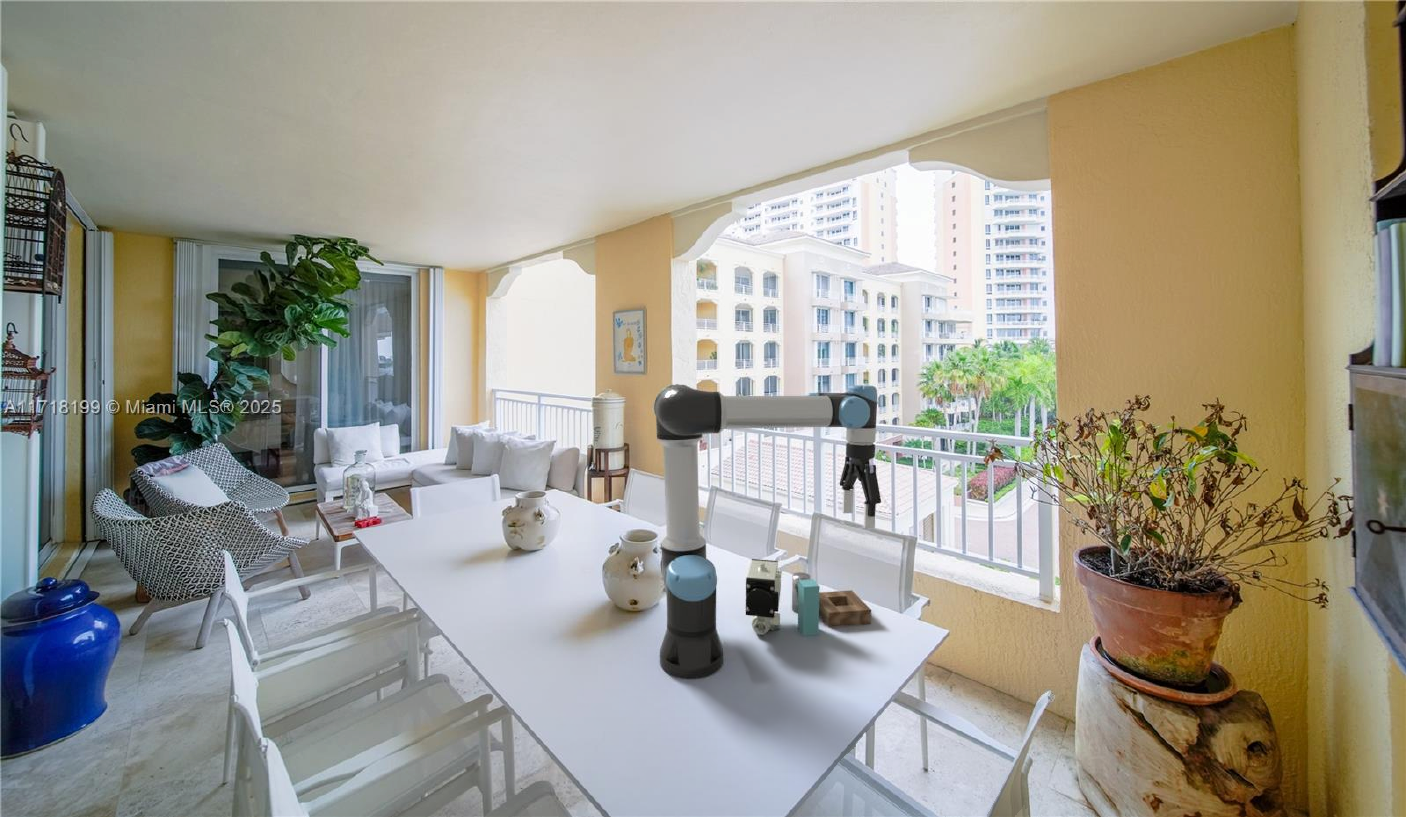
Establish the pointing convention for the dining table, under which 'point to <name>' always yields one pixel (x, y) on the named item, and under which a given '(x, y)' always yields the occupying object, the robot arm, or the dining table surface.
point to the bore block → (843, 609)
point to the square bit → (808, 607)
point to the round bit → (795, 579)
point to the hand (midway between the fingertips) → (857, 520)
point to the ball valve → (763, 595)
